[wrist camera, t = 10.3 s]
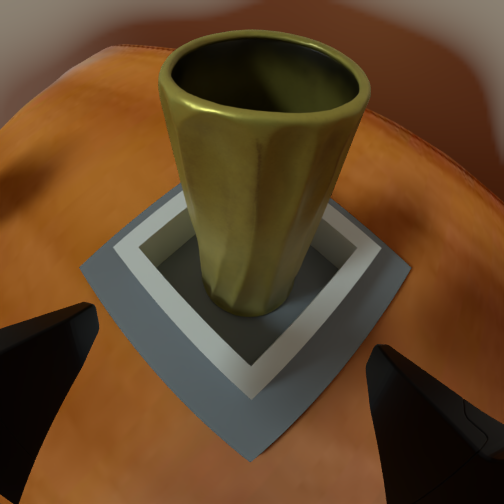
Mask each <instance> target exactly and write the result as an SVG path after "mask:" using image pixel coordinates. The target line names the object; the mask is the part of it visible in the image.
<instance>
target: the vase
mask: <svg viewBox="0 0 504 504" xmlns="http://www.w3.org/2000/svg"><path fill="white" fill-rule="evenodd" d="M158 90H159V96H160V101H161V105H162V109H163V113H164V117H165V121H166V126H167V130H168V134H169V138H170V142H171V146H172V150H173V154H174V157H175V161H176V165H177V169H178V173H179V177H180V182H181V185H182V189H183V193H184V197H185V201H186V205H187V209H188V212H189V215H190V218H191V221H192V224H193V227H194V230H195V233H196V237H197V241H198V247H199V255H200V263H201V271H202V282H203V285H204V288H205V290H206V292H207V294H208V296H209V298H210V299H211V300H212V301H213V302H214V303H215V304H216V305H217V306H218V307H220V308H221V309H223V310H225V311H227V312H229V313H231V314H233V315H236V316H241V317H257V316H262V315H265V314H268V313H270V312H272V311H273V310H275V309H276V308H278V307H279V306H280V305H281V304H283V302H284V301H285V300H286V299H287V298H288V296H289V294H290V292H291V290H292V288H293V285H294V280H295V277H296V275H297V274H298V272H299V270H300V267H301V265H302V262H303V260H304V257H305V255H306V253H307V251H308V249H309V246H310V244H311V242H312V240H313V238H314V235H315V233H316V231H317V228H318V226H319V224H320V221H321V219H322V216H323V214H324V211H325V209H326V207H327V204H328V202H329V199H330V197H331V195H332V192H333V190H334V187H335V184H336V182H337V179H338V177H339V174H340V172H341V169H342V166H343V164H344V161H345V159H346V156H347V153H348V151H349V148H350V146H351V143H352V141H353V138H354V136H355V133H356V131H357V128H358V126H359V123H360V121H361V118H362V116H363V113H364V111H365V108H366V106H367V104H368V101H369V99H370V94H371V92H370V91H371V88H370V83H369V81H368V78H367V76H366V75H365V73H364V71H363V70H362V69H361V68H360V67H359V66H358V65H357V64H356V63H355V62H353V61H352V60H351V59H350V58H348V57H347V56H345V55H344V54H342V53H341V52H339V51H338V50H336V49H334V48H332V47H330V46H328V45H326V44H323V43H321V42H318V41H316V40H312V39H309V38H306V37H302V36H298V35H293V34H288V33H283V32H276V31H267V30H238V31H228V32H223V33H217V34H212V35H208V36H204V37H201V38H198V39H195V40H193V41H191V42H189V43H187V44H185V45H183V46H181V47H179V48H178V49H176V50H175V51H174V52H173V53H172V54H171V55H170V56H168V58H167V59H166V61H165V62H164V64H163V65H162V67H161V70H160V73H159V80H158Z"/></svg>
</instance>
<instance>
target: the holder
mask: <svg viewBox="0 0 504 504" xmlns="http://www.w3.org/2000/svg"><path fill="white" fill-rule="evenodd" d="M79 268H80V270H81V271H82V273H83V275H84V276H85V278H86V279H87V281H88V283H89V284H90V286H91V287H92V289H93V290H94V292H95V294H96V295H97V297H98V298H99V300H100V301H101V303H102V304H103V305H104V307H105V308H106V310H107V311H108V313H109V314H110V315H111V317H112V318H113V320H114V321H115V322H116V324H117V325H118V327H119V328H120V329H121V331H122V332H123V333H124V335H125V336H126V337H127V338H128V340H129V341H130V342H131V344H132V345H133V346H134V347H135V349H136V350H137V351H138V352H139V354H140V355H141V356H142V357H143V358H144V360H145V361H146V362H147V363H148V364H149V366H150V367H151V368H152V369H153V370H154V371H155V372H156V374H157V375H158V376H159V377H160V378H161V379H162V380H163V381H164V383H165V384H166V385H167V386H168V387H169V388H170V389H171V390H172V391H173V392H174V393H175V394H176V395H177V397H178V398H179V399H180V400H181V401H182V402H183V403H184V404H185V405H186V406H187V407H188V408H189V409H190V410H191V411H192V412H193V413H194V414H195V415H196V416H197V417H198V418H200V419H201V420H202V421H203V422H204V423H205V424H206V425H207V426H208V427H209V428H210V429H211V430H212V431H214V432H215V433H216V434H217V435H218V436H219V437H220V438H221V439H223V440H224V441H225V442H226V443H227V444H228V445H230V446H231V447H232V448H233V449H234V450H236V451H237V452H238V453H239V454H240V455H242V456H243V457H244V458H245V459H247V460H248V461H249V462H251V461H253V460H254V459H255V458H256V457H257V456H258V455H260V454H261V453H262V452H263V451H264V450H265V449H266V448H267V447H269V446H270V445H271V444H272V443H273V442H274V441H275V440H276V439H277V438H278V437H279V436H280V435H281V434H282V433H283V432H284V431H285V430H287V429H288V428H289V427H290V426H291V425H292V424H293V423H294V422H295V421H296V420H297V419H298V417H299V416H300V415H301V414H302V413H303V412H304V411H305V410H306V409H307V408H308V407H309V406H310V405H311V404H312V403H313V402H314V401H315V399H316V398H317V397H318V396H319V395H320V394H321V393H322V392H323V390H324V389H325V388H326V387H327V386H328V385H329V384H330V382H331V381H332V380H333V379H334V378H335V376H336V375H337V374H338V373H339V372H340V370H341V369H342V368H343V367H344V366H345V364H346V363H347V362H348V361H349V359H350V358H351V357H352V355H353V354H354V353H355V352H356V350H357V349H358V348H359V346H360V345H361V344H362V342H363V341H364V340H365V338H366V337H367V335H368V334H369V333H370V331H371V330H372V329H373V327H374V326H375V324H376V323H377V321H378V320H379V318H380V317H381V316H382V314H383V313H384V311H385V310H386V308H387V307H388V305H389V304H390V302H391V300H392V299H393V297H394V296H395V294H396V293H397V291H398V289H399V288H400V286H401V285H402V283H403V281H404V280H405V278H406V276H407V275H408V273H409V271H410V269H411V267H410V266H409V265H408V264H407V263H406V262H405V261H403V260H402V259H401V258H400V257H399V256H398V255H397V254H396V253H395V252H394V251H393V250H391V249H390V248H389V247H388V246H387V245H386V244H385V243H384V242H383V241H381V240H380V239H379V238H378V237H377V236H376V235H375V234H373V233H372V232H371V231H370V230H369V229H368V228H366V227H365V226H364V225H363V224H362V223H361V222H359V221H358V220H357V219H356V218H355V217H353V216H352V215H351V214H350V213H348V212H347V211H346V210H345V209H344V208H342V207H341V206H340V205H339V204H337V203H336V202H335V201H334V200H332V199H331V198H330V199H329V202H328V204H327V207H326V209H325V211H324V214H323V216H322V219H321V221H320V224H319V226H318V228H317V231H316V233H315V235H314V238H313V240H312V242H311V244H310V246H309V249H308V251H307V253H306V255H305V257H304V260H303V262H302V265H301V267H300V270H299V272H298V274H297V275H296V277H295V280H294V285H293V288H292V290H291V292H290V294H289V296H288V298H287V299H286V300H285V301H284V302H283V304H281V305H280V306H279V307H278V308H276V309H275V310H273V311H272V312H270V313H268V314H265V315H262V316H257V317H241V316H236V315H233V314H231V313H229V312H227V311H225V310H223V309H221V308H220V307H218V306H217V305H216V304H215V303H214V302H213V301H212V300H211V299H210V298H209V296H208V294H207V292H206V290H205V288H204V285H203V282H202V271H201V263H200V255H199V247H198V241H197V237H196V233H195V230H194V227H193V224H192V221H191V218H190V215H189V212H188V209H187V205H186V201H185V197H184V193H183V189H182V185H181V183H180V184H178V185H177V186H176V187H174V188H173V189H172V190H170V191H169V192H168V193H166V194H165V195H164V196H162V197H161V198H160V199H158V200H157V201H156V202H155V203H153V204H152V205H151V206H150V207H148V208H147V209H146V210H144V211H143V212H142V213H141V214H140V215H138V216H137V217H136V218H135V219H133V220H132V221H131V222H130V223H129V224H127V225H126V226H125V227H124V228H123V229H121V230H120V231H119V232H118V233H117V234H116V235H114V236H113V237H112V238H111V239H110V240H109V241H108V242H106V243H105V244H104V245H103V246H102V247H101V248H100V249H99V250H98V251H96V252H95V253H94V254H93V255H92V256H91V257H90V258H89V259H88V260H87V261H86V262H85V263H83V264H82V265H81V266H80V267H79Z"/></svg>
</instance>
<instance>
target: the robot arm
mask: <svg viewBox="0 0 504 504" xmlns="http://www.w3.org/2000/svg"><path fill="white" fill-rule="evenodd" d="M98 331H99V322H98V317H97V311H96V307H95V305H93V304H91V303H87V302H82V303H78V304H75V305H72V306H69V307H66V308H63V309H60V310H57V311H54V312H51V313H47V314H44V315H41V316H38V317H35V318H32V319H29V320H26V321H23V322H20V323H17V324H14V325H10V326H7V327H4V328H1V329H0V495H2V496H3V497H5V498H6V499H7V500H9V501H10V502H12V503H13V504H19V502H20V499H21V496H22V493H23V490H24V488H25V485H26V482H27V480H28V477H29V474H30V472H31V469H32V467H33V465H34V462H35V460H36V457H37V455H38V453H39V450H40V448H41V446H42V444H43V441H44V439H45V437H46V435H47V433H48V431H49V429H50V427H51V425H52V423H53V420H54V418H55V416H56V414H57V413H58V411H59V409H60V407H61V405H62V403H63V401H64V399H65V397H66V395H67V393H68V392H69V390H70V388H71V386H72V384H73V382H74V381H75V379H76V377H77V375H78V374H79V372H80V370H81V368H82V366H83V364H84V362H85V360H86V358H87V355H88V353H89V351H90V349H91V346H92V344H93V342H94V340H95V338H96V336H97V334H98ZM366 377H367V385H368V393H369V403H370V410H371V415H372V420H373V425H374V429H375V434H376V439H377V444H378V450H379V455H380V461H381V467H382V473H383V479H384V486H385V493H386V501H387V504H504V424H502V423H500V422H498V421H497V420H495V419H493V418H492V417H490V416H489V415H487V414H485V413H484V412H482V411H481V410H479V409H478V408H476V407H475V406H473V405H472V404H470V403H469V402H468V401H466V400H465V399H463V398H462V397H461V396H459V395H458V394H456V393H455V392H454V391H452V390H451V389H449V388H448V387H447V386H445V385H444V384H442V383H441V382H440V381H438V380H437V379H435V378H434V377H433V376H431V375H430V374H428V373H427V372H426V371H424V370H423V369H421V368H420V367H419V366H417V365H416V364H414V363H413V362H412V361H410V360H409V359H407V358H406V357H404V356H403V355H402V354H400V353H399V352H397V351H396V350H395V349H393V348H392V347H390V346H389V345H386V344H377V345H376V346H375V347H374V348H373V351H372V353H371V355H370V357H369V360H368V362H367V364H366Z"/></svg>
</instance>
